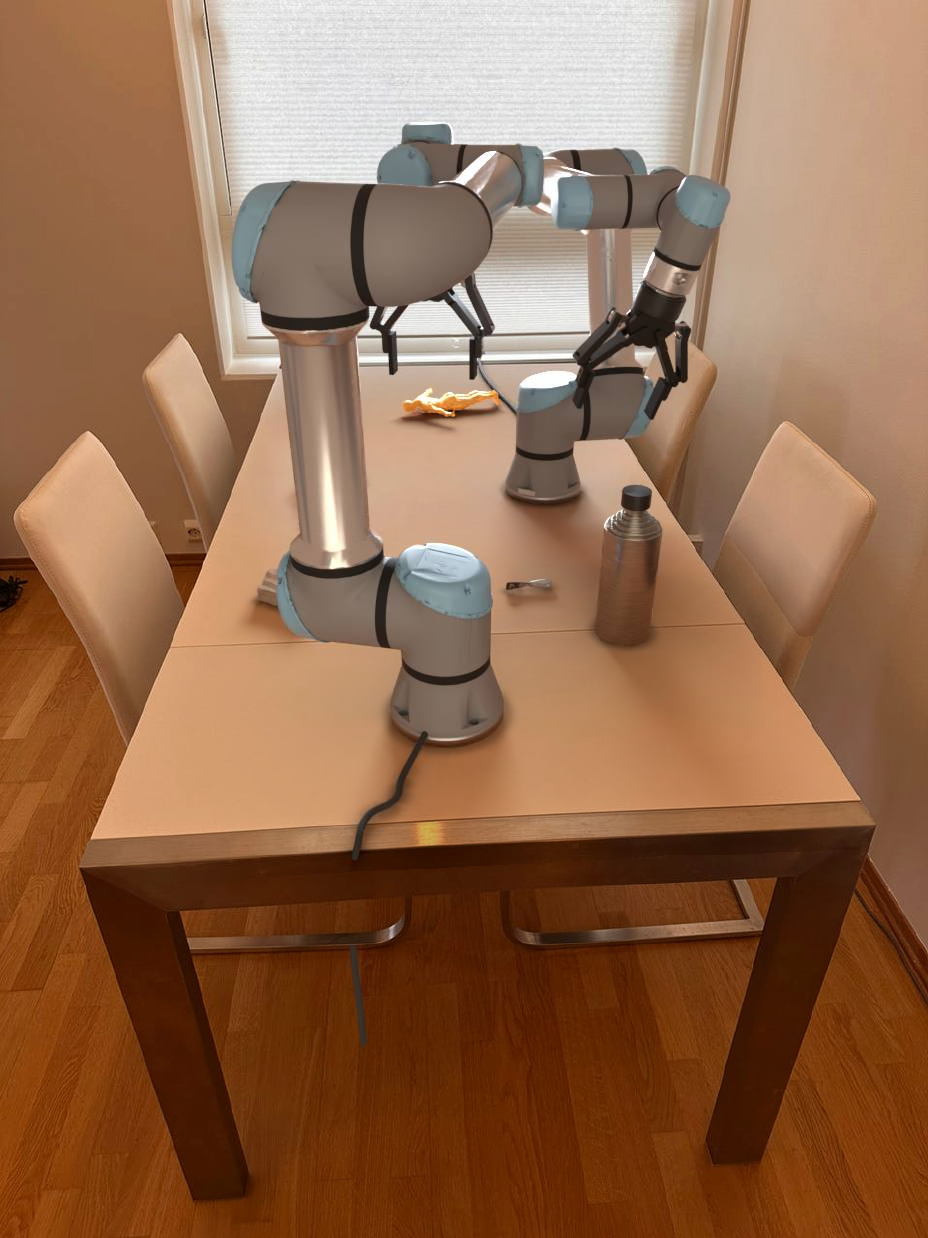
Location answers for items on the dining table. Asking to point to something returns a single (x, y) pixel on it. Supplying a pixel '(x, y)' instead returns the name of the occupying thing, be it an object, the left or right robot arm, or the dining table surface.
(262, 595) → the stone
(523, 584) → the putty knife
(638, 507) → the cap
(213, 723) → the dining table surface
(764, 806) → the dining table surface
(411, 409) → the human figure
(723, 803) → the dining table surface
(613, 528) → the bottle
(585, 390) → the right robot arm
